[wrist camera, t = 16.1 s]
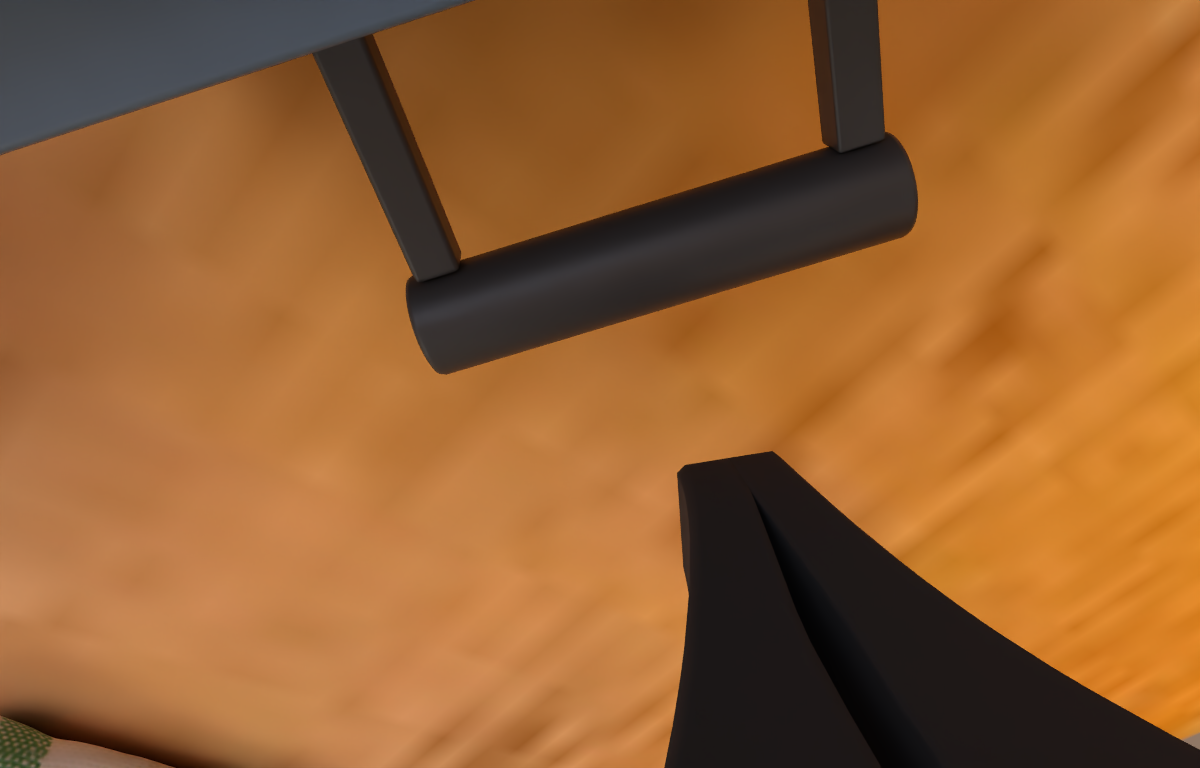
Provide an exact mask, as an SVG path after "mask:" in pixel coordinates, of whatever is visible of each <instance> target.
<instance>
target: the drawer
mask: <svg viewBox="0 0 1200 768" xmlns="http://www.w3.org/2000/svg"><path fill="white" fill-rule="evenodd" d="M471 1H474V0H0V155H2V154H5V153H8V152H11V151H14V150H17V149H20V148H23V147H26V146H29V145H33V144H36V143H39V142H42V141H45V140H48V139H51V138H54V137H57V136H60V135H63V134H66V133H69V132H72V131H75V130H79V129H82V128H85V127H88V126H91V125H94V124H97V123H100V122H103V121H106V120H109V119H112V118H115V117H118V116H121V115H125V114H128V113H131V112H134V111H137V110H140V109H143V108H146V107H149V106H152V105H155V104H158V103H161V102H164V101H167V100H171V99H174V98H177V97H180V96H183V95H186V94H189V93H192V92H195V91H198V90H201V89H204V88H207V87H210V86H213V85H216V84H220V83H223V82H226V81H229V80H232V79H235V78H238V77H241V76H244V75H247V74H250V73H253V72H256V71H259V70H262V69H266V68H269V67H272V66H275V65H278V64H281V63H284V62H287V61H290V60H293V59H296V58H299V57H302V56H305V55H308V54H313V56H314V59H315V61H316V63H317V65H318V67H319V70H320V72H321V74H322V76H323V79H324V81H325V83H326V85H327V87H328V90H329V92H330V94H331V96H332V98H333V101H334V103H335V105H336V107H337V109H338V112H339V114H340V116H341V118H342V120H343V123H344V125H345V127H346V129H347V131H348V134H349V136H350V138H351V140H352V142H353V145H354V147H355V149H356V151H357V153H358V156H359V158H360V160H361V162H362V164H363V167H364V169H365V171H366V173H367V175H368V178H369V180H370V182H371V184H372V186H373V189H374V191H375V193H376V195H377V197H378V200H379V202H380V204H381V206H382V208H383V211H384V213H385V215H386V217H387V219H388V222H389V224H390V226H391V228H392V230H393V233H394V235H395V237H396V239H397V241H398V244H399V246H400V248H401V250H402V252H403V255H404V257H405V259H406V261H407V263H408V266H409V268H410V270H411V272H412V274H413V275H412V276H411V277H410V278H409V279H408V280H407V283H406V302H407V308H408V313H409V317H410V321H411V325H412V328H413V331H414V333H415V336H416V339H417V341H418V344H419V346H420V348H421V350H422V352H423V354H424V356H425V357H426V359H427V361H428V362H429V364H430V365H431V366H432V368H433V369H434V370H435V371H436V372H437V373H439V374H446V375H447V374H450V373H453V372H457V371H460V370H463V369H467V368H470V367H473V366H477V365H480V364H483V363H487V362H490V361H493V360H497V359H500V358H503V357H507V356H510V355H513V354H517V353H520V352H523V351H526V350H530V349H533V348H536V347H540V346H543V345H546V344H550V343H553V342H556V341H560V340H563V339H566V338H570V337H573V336H576V335H580V334H583V333H586V332H590V331H593V330H596V329H599V328H603V327H606V326H609V325H613V324H616V323H619V322H623V321H626V320H629V319H633V318H636V317H639V316H643V315H646V314H649V313H653V312H656V311H659V310H663V309H666V308H669V307H672V306H676V305H679V304H682V303H686V302H689V301H692V300H696V299H699V298H702V297H706V296H709V295H712V294H716V293H719V292H722V291H726V290H729V289H732V288H736V287H739V286H742V285H745V284H749V283H752V282H755V281H759V280H762V279H765V278H769V277H772V276H775V275H779V274H782V273H785V272H789V271H792V270H795V269H799V268H802V267H805V266H809V265H812V264H815V263H818V262H822V261H825V260H828V259H832V258H835V257H838V256H842V255H845V254H848V253H852V252H855V251H858V250H862V249H865V248H868V247H872V246H875V245H878V244H882V243H885V242H888V241H891V240H895V239H898V238H901V237H904V236H905V235H907V234H908V233H909V232H910V231H911V230H912V228H913V227H914V224H915V222H916V218H917V211H918V194H917V185H916V180H915V176H914V172H913V168H912V165H911V163H910V160H909V157H908V155H907V153H906V151H905V149H904V148H903V146H902V144H901V143H900V142H899V140H898V139H897V138H896V137H895V136H894V135H892V134H891V133H888V132H885V126H884V108H883V91H882V73H881V56H880V38H879V21H878V3H877V0H808V7H809V17H810V26H811V36H812V46H813V55H814V65H815V74H816V84H817V94H818V103H819V113H820V123H821V132H822V141H823V143H824V144H826V145H827V146H829V147H826V148H823V149H820V150H817V151H813V152H810V153H807V154H804V155H800V156H797V157H794V158H791V159H787V160H784V161H781V162H778V163H775V164H771V165H768V166H765V167H762V168H758V169H755V170H752V171H749V172H745V173H742V174H739V175H736V176H732V177H729V178H726V179H723V180H719V181H716V182H713V183H710V184H707V185H703V186H700V187H697V188H694V189H690V190H687V191H684V192H681V193H677V194H674V195H671V196H668V197H664V198H661V199H658V200H655V201H651V202H648V203H645V204H642V205H639V206H635V207H632V208H629V209H626V210H622V211H619V212H616V213H613V214H609V215H606V216H603V217H600V218H596V219H593V220H590V221H587V222H583V223H580V224H577V225H574V226H571V227H567V228H564V229H561V230H558V231H554V232H551V233H548V234H545V235H541V236H538V237H535V238H532V239H528V240H525V241H522V242H519V243H515V244H512V245H509V246H506V247H503V248H499V249H496V250H493V251H490V252H486V253H483V254H480V255H477V256H473V257H470V258H467V259H464V260H460V259H461V250H460V248H459V245H458V243H457V241H456V238H455V236H454V233H453V231H452V228H451V226H450V223H449V221H448V218H447V216H446V213H445V211H444V209H443V206H442V204H441V201H440V199H439V196H438V194H437V191H436V189H435V186H434V184H433V181H432V179H431V177H430V174H429V172H428V169H427V167H426V164H425V162H424V159H423V157H422V154H421V152H420V149H419V147H418V145H417V142H416V140H415V137H414V135H413V132H412V130H411V127H410V125H409V122H408V120H407V117H406V115H405V113H404V110H403V108H402V105H401V103H400V100H399V98H398V95H397V93H396V90H395V88H394V86H393V83H392V81H391V78H390V76H389V73H388V71H387V68H386V66H385V63H384V61H383V58H382V56H381V54H380V51H379V49H378V46H377V44H376V41H375V39H374V36H373V33H376V32H379V31H382V30H385V29H388V28H391V27H394V26H397V25H400V24H404V23H407V22H410V21H413V20H416V19H419V18H422V17H425V16H428V15H431V14H434V13H437V12H440V11H443V10H446V9H450V8H453V7H456V6H459V5H462V4H465V3H468V2H471Z"/></svg>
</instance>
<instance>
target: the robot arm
mask: <svg viewBox="0 0 1200 768" xmlns="http://www.w3.org/2000/svg"><path fill="white" fill-rule="evenodd" d="M677 478H678V493H679V508H680V523H681V538H682V553H683V567H684V572H685V576H686V581H687V586H688V592H689V600H688V612H687V624H686V635H685V646H684V654H683V662H682V670H681V677H680V684H679V691H678V697H677V703H676V709H675V715H674V721H673V727H672V732H671V737H670V742H669V747H668V752H667V757H666V762H665V767H664V768H1200V750H1199V749H1197V748H1195V747H1193V746H1191V745H1190V744H1188V743H1186V742H1184V741H1182V740H1180V739H1178V738H1176V737H1174V736H1172V735H1171V734H1169V733H1167V732H1165V731H1163V730H1162V729H1160V728H1158V727H1156V726H1154V725H1153V724H1151V723H1149V722H1147V721H1145V720H1144V719H1142V718H1140V717H1138V716H1136V715H1135V714H1133V713H1131V712H1129V711H1127V710H1126V709H1124V708H1122V707H1120V706H1118V705H1117V704H1115V703H1113V702H1111V701H1109V700H1108V699H1106V698H1104V697H1102V696H1101V695H1099V694H1097V693H1095V692H1093V691H1092V690H1090V689H1088V688H1086V687H1085V686H1083V685H1081V684H1080V683H1078V682H1076V681H1075V680H1073V679H1071V678H1070V677H1068V676H1066V675H1064V674H1063V673H1061V672H1059V671H1058V670H1056V669H1054V668H1053V667H1051V666H1050V665H1048V664H1046V663H1045V662H1043V661H1042V660H1040V659H1039V658H1037V657H1035V656H1034V655H1032V654H1031V653H1029V652H1028V651H1026V650H1025V649H1023V648H1021V647H1020V646H1018V645H1017V644H1015V643H1014V642H1012V641H1010V640H1009V639H1007V638H1006V637H1004V636H1003V635H1001V634H1000V633H998V632H996V631H995V630H993V629H992V628H991V627H989V626H988V625H986V624H985V623H983V622H982V621H980V620H979V619H977V618H976V617H975V616H973V615H972V614H970V613H969V612H967V611H966V610H965V609H963V608H962V607H960V606H959V605H958V604H956V603H955V602H954V601H952V600H951V599H949V598H948V597H947V596H945V595H944V594H943V593H941V592H940V591H939V590H937V589H936V588H935V587H933V586H932V585H931V584H929V583H928V582H926V581H925V580H924V579H922V578H921V577H920V576H919V575H917V574H916V573H915V572H913V571H912V570H911V569H910V568H908V567H907V566H906V565H904V564H903V563H902V562H901V561H899V560H898V559H897V558H896V557H894V556H893V555H892V554H891V553H889V552H888V551H887V550H886V549H885V548H883V547H882V546H881V545H880V544H878V543H877V542H876V541H875V540H874V539H872V538H871V537H870V536H869V535H867V534H866V533H865V532H864V531H863V530H861V529H860V528H859V527H858V526H857V525H855V524H854V523H853V522H852V521H851V520H850V519H848V518H847V517H846V516H845V515H844V514H843V513H841V512H840V511H839V510H838V509H837V508H836V507H835V506H834V505H832V504H831V503H830V502H829V501H828V500H827V499H826V498H824V497H823V496H822V495H821V494H820V493H819V492H818V491H817V490H816V489H814V488H813V487H812V486H811V485H810V484H809V483H808V482H807V481H806V480H805V479H803V478H802V477H801V476H800V475H799V474H798V473H797V472H796V471H795V470H794V469H793V468H791V467H790V466H789V465H788V464H787V463H786V462H785V461H784V460H783V459H782V458H781V457H779V456H778V455H777V454H775V453H774V452H773V451H770V452H764V453H757V454H751V455H745V456H739V457H732V458H726V459H720V460H714V461H707V462H701V463H695V464H689V465H685V466H684V467H683V468H682V469H681V470H680V471H679V472H678V473H677Z"/></svg>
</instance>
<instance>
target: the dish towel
mask: <svg viewBox="0 0 1200 768" xmlns="http://www.w3.org/2000/svg"><path fill="white" fill-rule="evenodd" d="M0 768H174V767H171V766H168V765H165V764H162V763H159V762H155V761H152V760H149V759H146V758H143V757H139V756H134V755H130V754H125V753H122V752H118V751H115V750H111V749H107V748H104V747H100V746H96V745H91V744H87V743H83V742H78V741H70V740H62V739H56V738H53V737H51V736H48V735H46V734H44V733H42V732H40V731H38V730H36V729H34V728H31V727H29V726H27V725H25V724H22V723H19V722H17V721H14V720H11V719H9V718H6V717H2V716H0Z"/></svg>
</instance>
